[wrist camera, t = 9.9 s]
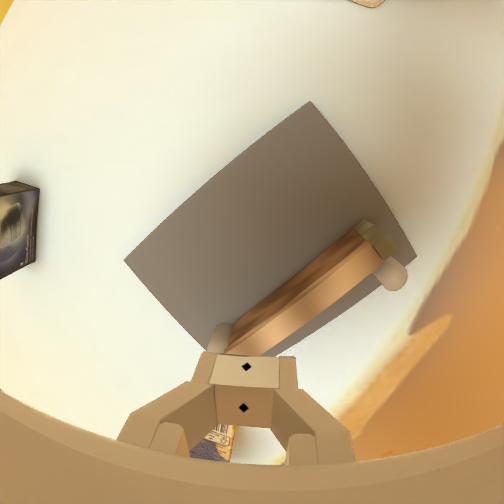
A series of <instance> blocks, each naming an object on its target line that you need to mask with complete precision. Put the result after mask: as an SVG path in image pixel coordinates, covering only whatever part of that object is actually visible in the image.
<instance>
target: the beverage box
mask: <svg viewBox="0 0 504 504" xmlns="http://www.w3.org/2000/svg"><path fill="white" fill-rule="evenodd" d="M234 432H235V426H234V425H220V424H217V426H216V427H215V428H214V429H213V430H212V431H211V432H210V433H209V434H208V435H207V436H206V437H205V438H203V439H202V440H201V441H200V442H199V443H198V444H197V445H196V446H195V447H194V448H192V449H191V450H190V451H189V454H190V457H192V458H198V459H205V460H212V461H221V462H230V457H231V451H232V445H233V438H234Z"/></svg>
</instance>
